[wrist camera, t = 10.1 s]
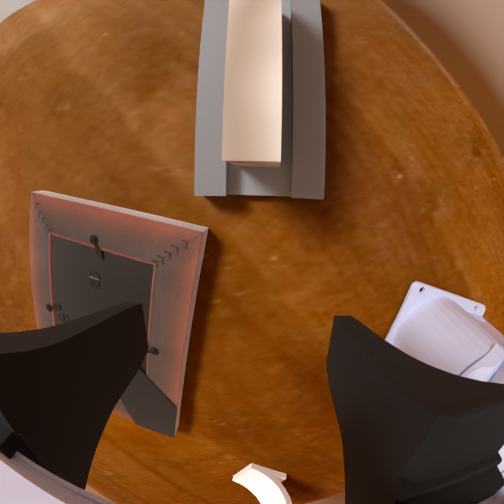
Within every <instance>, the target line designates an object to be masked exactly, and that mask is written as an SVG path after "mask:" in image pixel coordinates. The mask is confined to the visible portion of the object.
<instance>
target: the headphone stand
mask: <svg viewBox="0 0 504 504" xmlns="http://www.w3.org/2000/svg"><path fill="white" fill-rule="evenodd" d="M285 479H286V473H282V472H279V471H275V470H272V469H269V468H265V467H262V466H259V465H256V464H253V463H251V464H250V465H248V466H247V467H245V468H244V469H243V470H241V471H240V472H238V473H237V474H235V475H234V476H233V480H232V481H235V482H237V483H239V484H241V485H243V486H245V487H246V488H247V489H249V490H250V491H251V492H252V493H253V494H254V495H255V496H256V497H257V499H258V500H259V502H260V503H261V504H292V502H291V499H290V496H289V494H288V492H287V491H286V489H285V487H284V486H283V485H282V484H281V482H282V481H284V480H285Z"/></svg>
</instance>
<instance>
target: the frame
mask: <svg viewBox="0 0 504 504" xmlns="http://www.w3.org/2000/svg"><path fill="white" fill-rule="evenodd" d="M281 128H282V9H281V0H229V11H228V25H227V41H226V58H225V78H224V101H223V130H222V161H224V162H228V163H231V164H234V165H238V166H266V167H280V163H281Z"/></svg>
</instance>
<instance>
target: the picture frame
mask: <svg viewBox="0 0 504 504" xmlns="http://www.w3.org/2000/svg"><path fill="white" fill-rule="evenodd" d="M208 229H209V228H208V227H204V226H200V225H195V224H191V223H187V222H183V221H178V220H174V219H170V218H165V217H161V216H157V215H152V214H148V213H144V212H139V211H135V210H130V209H126V208H122V207H117V206H113V205H108V204H104V203H99V202H95V201H90V200H86V199H81V198H77V197H72V196H67V195H63V194H58V193H53V192H49V191H44V190H42V191H35V192H31V203H30V269H31V283H32V293H33V302H34V310H35V317H36V323H37V329H42V328H47V327H51V326H55V325H59V324H62V323H66V322H69V321H72V320H75V319H78V318H81V317H84V316H87V315H90V314H92V313H95V312H98V311H100V310H103V309H106V308H109V307H111V306H114V305H118V304H121V303H125V302H135V303H142V307H143V314H144V321H145V327H146V333H147V339H148V345H149V349H148V351H147V353H146V356H145V358H144V360H143V362H142V365H141V367H140V368H139V370H138V372H137V373H136V375H135V376H134V378H133V379H132V381H131V383H130V384H129V386H128V387H127V389H126V390H125V392H124V393H123V395H122V396H121V398H120V399H119V401H118V402H117V404H116V406H115V407H114V409H113V411H112V413H113V414H116V415H118V416H120V417H123V418H125V419H127V420H130V421H132V422H135V424H137V425H140V426H142V427H145V428H148V429H150V430H153V431H156V432H159V433H162V434H165V435H168V436H171V437H174V436H175V434H176V431H177V429H178V426H179V418H180V409H181V400H182V392H183V383H184V376H185V368H186V361H187V353H188V346H189V340H190V333H191V326H192V320H193V313H194V307H195V301H196V295H197V289H198V283H199V277H200V272H201V266H202V261H203V255H204V250H205V245H206V239H207V234H208Z"/></svg>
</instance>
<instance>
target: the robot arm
mask: <svg viewBox="0 0 504 504" xmlns="http://www.w3.org/2000/svg"><path fill="white" fill-rule="evenodd" d="M422 287H423V289H422V291H420V288H422ZM419 291H420V292H419ZM475 306H476V307H475ZM474 307H475V308H474ZM484 311H485V306H484V305H483V304H481V303H478V302H475V301H473V300H470V299H467V298H464V297H461V296H459V295H456V294H453V293H450V292H447V291H445V290H442V289H439V288H436V287H433V286H430V285H427V284H424V283H422V282H419V281H415V282H413V283H412V285H411V286H410V289H409V291H408V293H407V296H406V298H405V300H404V302H403V304H402V306H401V309H400V311H399V313H398V315H397V317H396V319H395V321H394V323H393V325H392V327H391V329H390V331H389V333H388V335H387V337H386V338H385V340H384V339H383V338H381V337H380V336H378V335H377V334H376V333H374V332H373V331H372V330H370V329H369V328H368V327H366V326H365V325H363V324H362V323H361V322H359V321H358V320H356V319H355V318H353V317H352V316H334V321H333V327H332V333H331V339H330V345H329V350H328V356H327V361H326V362H327V372H328V381H329V386H330V391H331V395H332V399H333V403H334V407H335V411H336V415H337V419H338V423H339V427H340V431H341V437H342V445H343V455H344V470H345V504H504V336H503V335H502V334H501V333H500V332H499V331H498V330H497V329H495V328H494V327H493V326H492V325H491V324H490V323H488V322H487V321H486V320H485V319H484V318H483V317H482V316H483V314H484ZM148 349H149V345H148V339H147V333H146V327H145V321H144V314H143V307H142V303H135V302H125V303H121V304H118V305H114V306H111V307H109V308H106V309H103V310H100V311H98V312H95V313H92V314H90V315H87V316H84V317H81V318H78V319H75V320H72V321H69V322H66V323H62V324H59V325H55V326H51V327H47V328H42V329H37V330H29V331H22V332H12V333H0V504H116V503H113V502H111V501H108V500H106V499H103V498H101V497H99V496H96V495H94V494H91V493H90V492H87V491H85V487H86V483H87V478H88V474H89V470H90V467H91V463H92V460H93V457H94V454H95V451H96V448H97V445H98V443H99V440H100V438H101V435H102V433H103V430H104V428H105V426H106V423H107V421H108V419H109V417H110V415H111V413H112V411H113V409H114V407H115V406H116V404H117V402H118V401H119V399H120V398H121V396H122V395H123V393H124V392H125V390H126V389H127V387H128V386H129V384H130V383H131V381H132V379H133V378H134V376H135V375H136V373H137V372H138V370H139V368H140V367H141V365H142V362H143V360H144V358H145V356H146V353H147V351H148Z"/></svg>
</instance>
